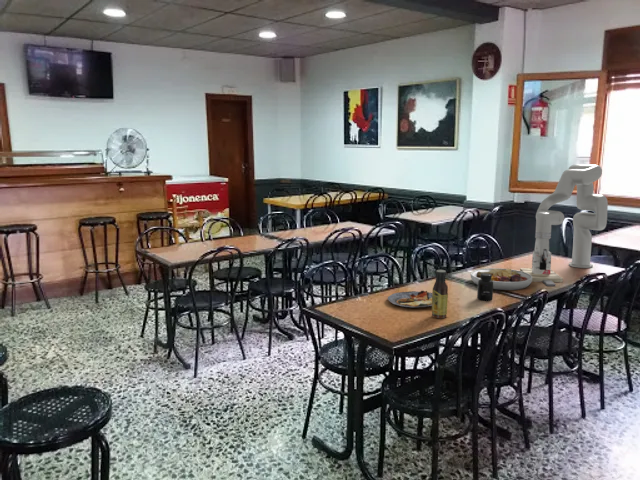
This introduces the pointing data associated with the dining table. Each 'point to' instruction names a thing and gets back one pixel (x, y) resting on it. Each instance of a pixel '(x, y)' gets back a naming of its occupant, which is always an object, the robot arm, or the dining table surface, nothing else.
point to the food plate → (412, 299)
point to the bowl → (504, 278)
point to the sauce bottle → (440, 295)
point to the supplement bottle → (485, 288)
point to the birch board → (542, 276)
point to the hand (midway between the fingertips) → (541, 268)
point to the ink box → (536, 264)
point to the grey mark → (550, 284)
